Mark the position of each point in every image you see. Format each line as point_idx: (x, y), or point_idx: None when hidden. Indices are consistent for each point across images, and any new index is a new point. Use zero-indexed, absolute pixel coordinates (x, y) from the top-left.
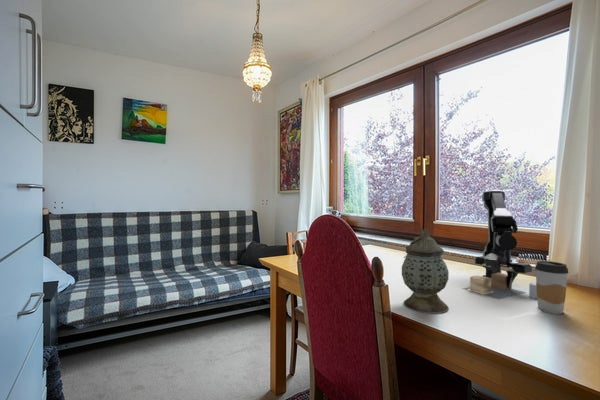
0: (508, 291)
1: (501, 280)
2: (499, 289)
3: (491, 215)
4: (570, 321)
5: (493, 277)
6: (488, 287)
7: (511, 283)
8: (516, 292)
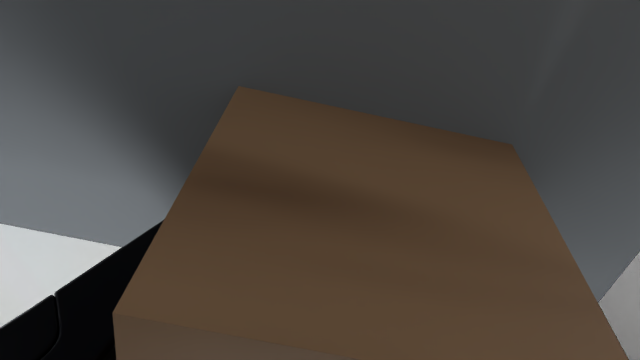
0: (134, 27)
1: (268, 216)
2: (316, 37)
3: None
4: None
5: (530, 297)
6: None
7: None
8: (19, 76)
